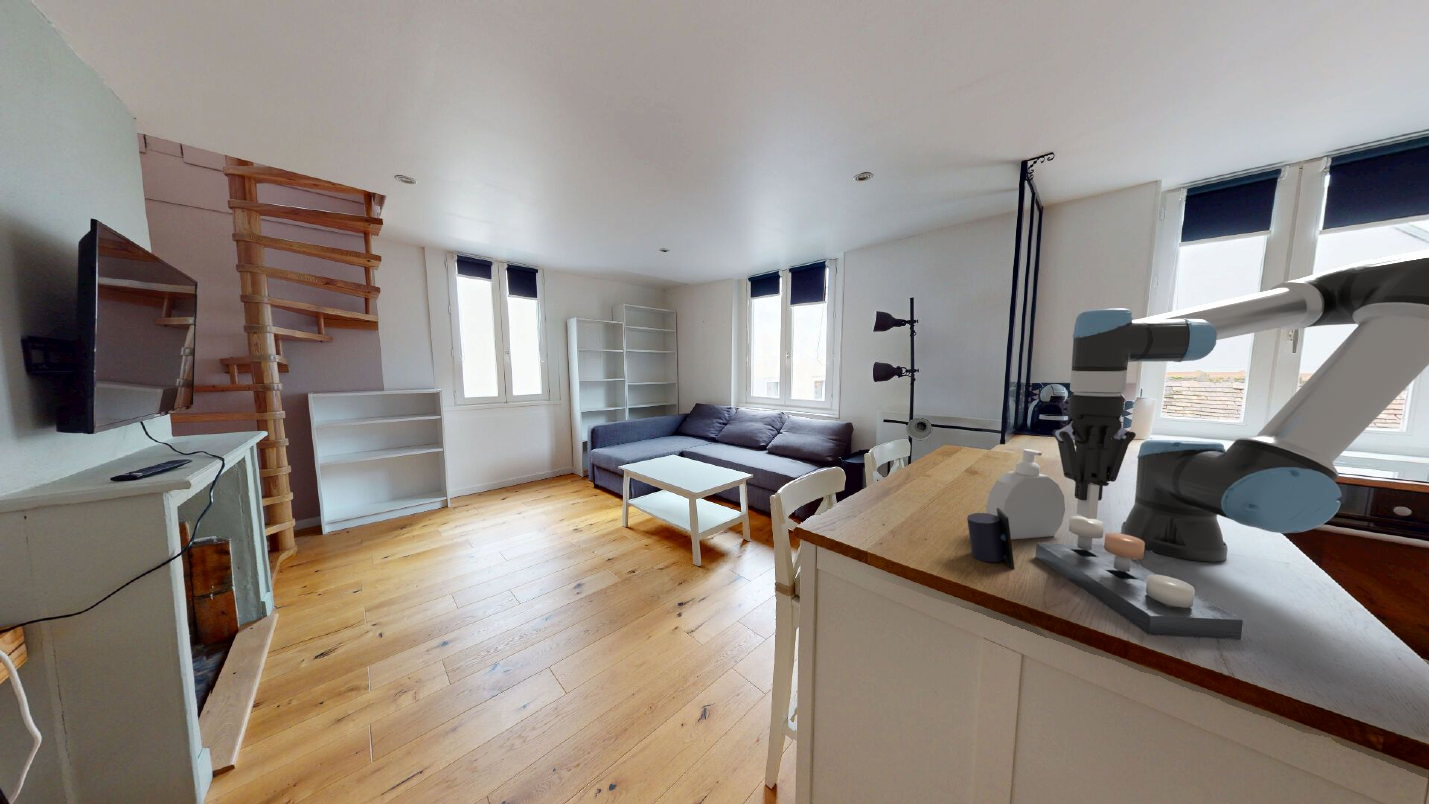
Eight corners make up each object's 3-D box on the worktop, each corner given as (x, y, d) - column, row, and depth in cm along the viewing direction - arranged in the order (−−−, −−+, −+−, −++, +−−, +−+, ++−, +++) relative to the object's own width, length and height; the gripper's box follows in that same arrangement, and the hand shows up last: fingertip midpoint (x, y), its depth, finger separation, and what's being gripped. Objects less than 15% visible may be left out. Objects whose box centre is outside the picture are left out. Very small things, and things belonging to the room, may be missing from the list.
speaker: (1016, 557, 82) (1012, 507, 81) (1014, 569, 78) (1010, 518, 77) (972, 550, 87) (968, 503, 86) (968, 561, 83) (964, 512, 82)
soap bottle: (1003, 541, 90) (1008, 454, 88) (984, 531, 95) (988, 449, 93) (1065, 536, 92) (1071, 451, 90) (1043, 527, 97) (1049, 446, 95)
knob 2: (1168, 607, 64) (1171, 575, 64) (1201, 627, 59) (1204, 592, 59) (1135, 606, 65) (1138, 574, 64) (1165, 625, 60) (1168, 590, 59)
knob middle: (1124, 562, 72) (1126, 533, 71) (1150, 576, 67) (1153, 545, 67) (1095, 561, 72) (1097, 532, 72) (1119, 575, 68) (1121, 544, 67)
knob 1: (1087, 542, 80) (1089, 516, 79) (1108, 554, 75) (1111, 525, 74) (1061, 542, 80) (1063, 515, 80) (1080, 553, 75) (1083, 525, 75)
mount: (1098, 558, 81) (1100, 544, 81) (1241, 639, 58) (1243, 619, 57) (1035, 556, 83) (1036, 542, 82) (1149, 635, 59) (1150, 615, 58)
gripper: (1116, 392, 78) (1106, 510, 80) (1044, 392, 79) (1036, 508, 81) (1154, 395, 70) (1142, 525, 73) (1074, 395, 72) (1064, 523, 74)
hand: (1086, 516), depth 77 cm, fingers closed
